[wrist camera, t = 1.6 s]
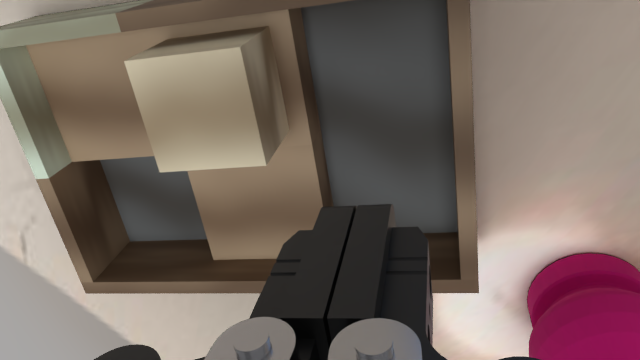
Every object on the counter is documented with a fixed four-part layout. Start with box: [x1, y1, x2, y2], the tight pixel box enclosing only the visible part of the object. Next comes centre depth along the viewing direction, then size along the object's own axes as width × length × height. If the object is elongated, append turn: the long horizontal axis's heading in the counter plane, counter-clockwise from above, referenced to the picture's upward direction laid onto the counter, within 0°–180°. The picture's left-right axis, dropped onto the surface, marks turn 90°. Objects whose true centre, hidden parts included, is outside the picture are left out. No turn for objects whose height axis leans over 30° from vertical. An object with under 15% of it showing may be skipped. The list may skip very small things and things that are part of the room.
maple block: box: [124, 26, 289, 172], centre depth 23 cm, size 5×5×4 cm
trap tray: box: [0, 0, 479, 293], centre depth 27 cm, size 15×22×4 cm
